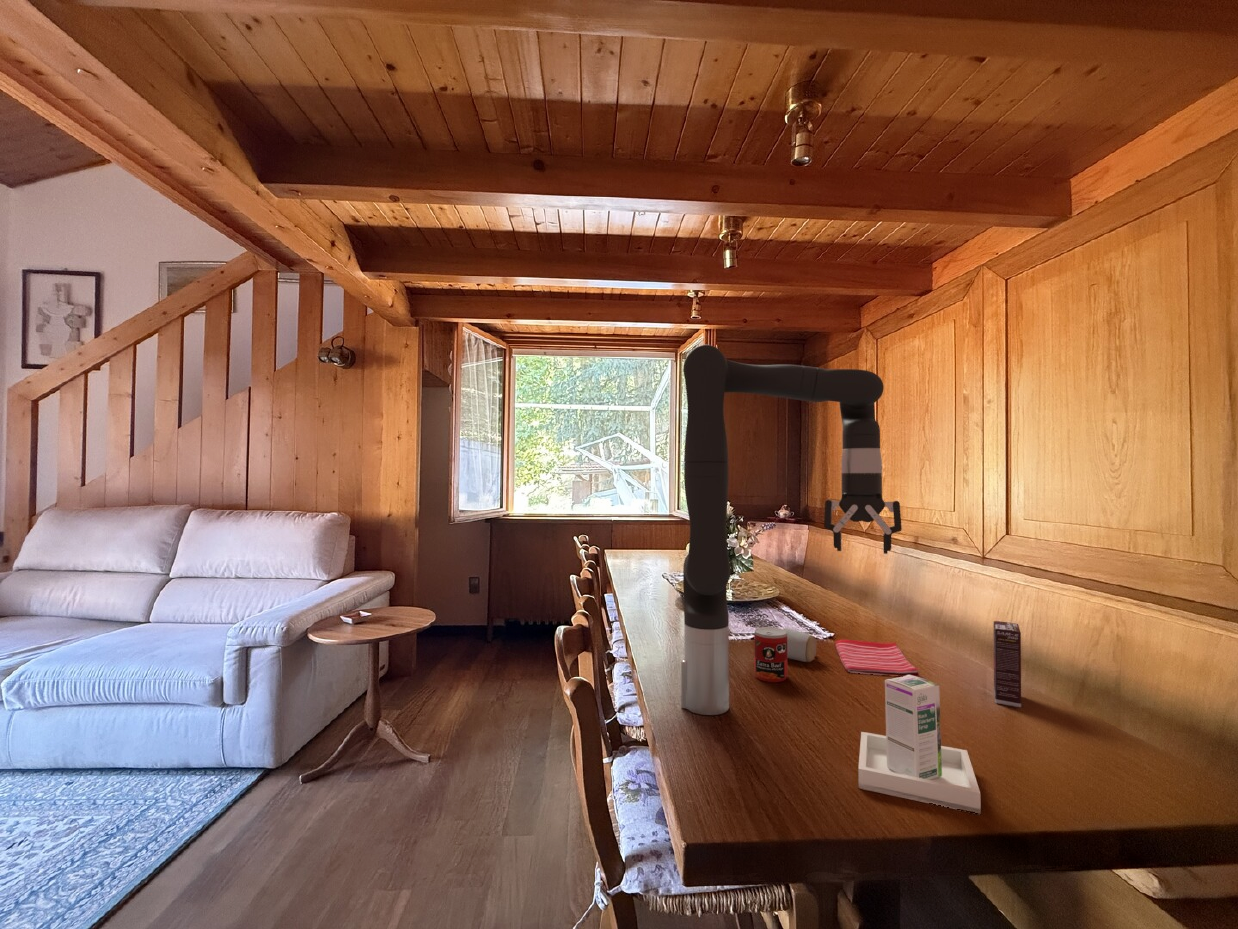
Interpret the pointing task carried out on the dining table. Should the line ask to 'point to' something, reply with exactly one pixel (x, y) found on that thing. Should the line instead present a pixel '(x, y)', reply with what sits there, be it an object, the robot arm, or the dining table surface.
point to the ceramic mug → (800, 645)
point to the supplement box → (1007, 663)
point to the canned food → (770, 654)
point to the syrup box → (913, 727)
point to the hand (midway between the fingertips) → (862, 552)
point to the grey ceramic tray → (947, 790)
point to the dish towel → (874, 658)
